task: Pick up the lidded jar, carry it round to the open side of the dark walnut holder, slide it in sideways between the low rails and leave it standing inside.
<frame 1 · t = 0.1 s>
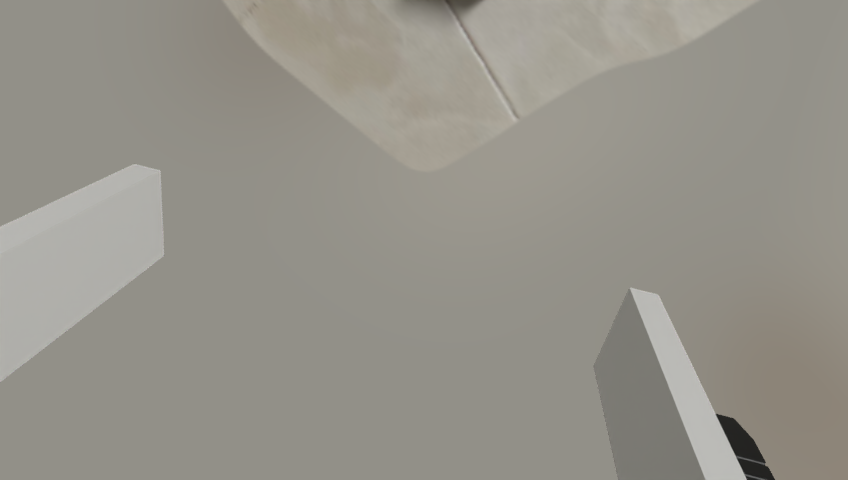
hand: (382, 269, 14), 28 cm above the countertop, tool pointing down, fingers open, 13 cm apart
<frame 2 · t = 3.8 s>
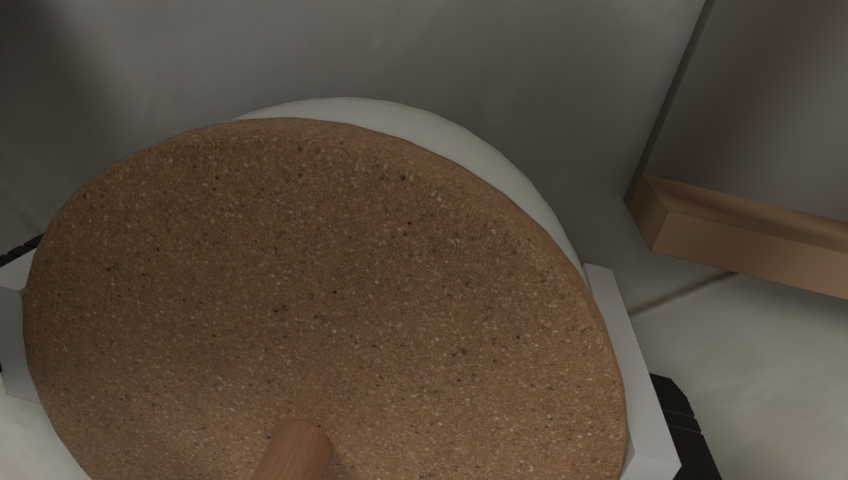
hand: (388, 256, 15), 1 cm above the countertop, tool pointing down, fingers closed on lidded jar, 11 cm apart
lidded jar: (396, 238, 16), on the countertop, touching gripper
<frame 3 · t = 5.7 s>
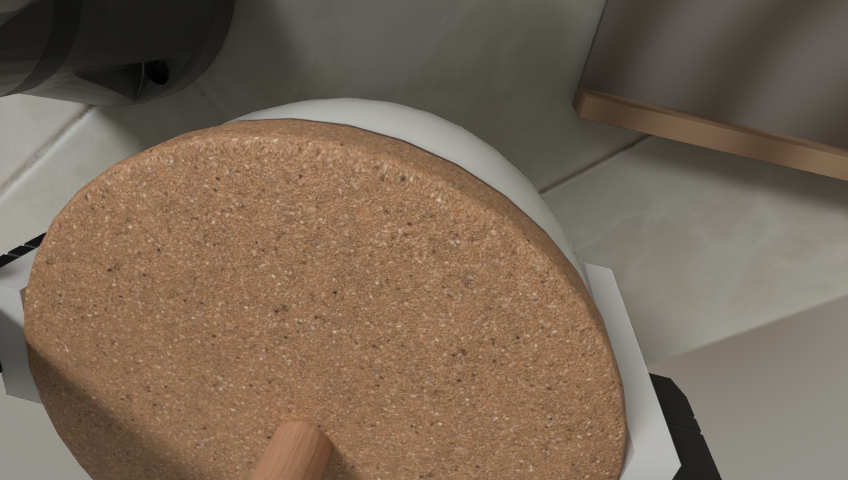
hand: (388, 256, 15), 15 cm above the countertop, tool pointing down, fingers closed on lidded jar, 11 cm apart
lidded jar: (396, 238, 16), point 14 cm above the countertop, touching gripper
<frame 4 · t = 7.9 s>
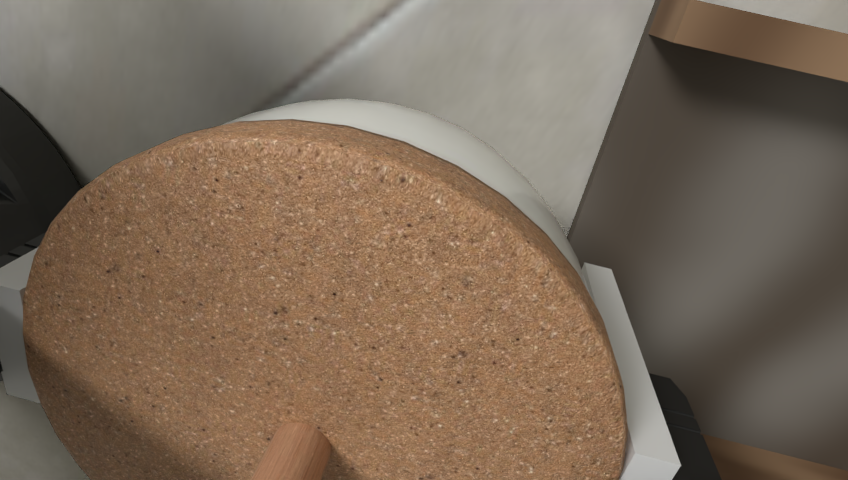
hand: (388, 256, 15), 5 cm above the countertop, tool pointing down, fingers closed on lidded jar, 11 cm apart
holder: (745, 276, 18), on the countertop
lidded jar: (396, 239, 16), point 3 cm above the countertop, touching gripper
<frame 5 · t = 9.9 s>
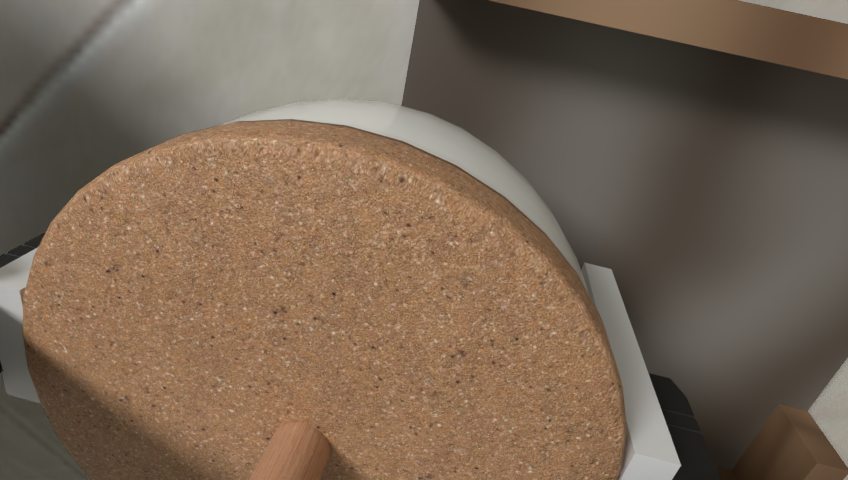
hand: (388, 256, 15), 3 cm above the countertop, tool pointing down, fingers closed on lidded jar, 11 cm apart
holder: (575, 254, 17), on the countertop
lidded jar: (395, 239, 16), point 2 cm above the countertop, touching gripper
when the fingers open (2 cm above the countertop, at t = 11.9 s): lidded jar stays where it is, resting on holder.
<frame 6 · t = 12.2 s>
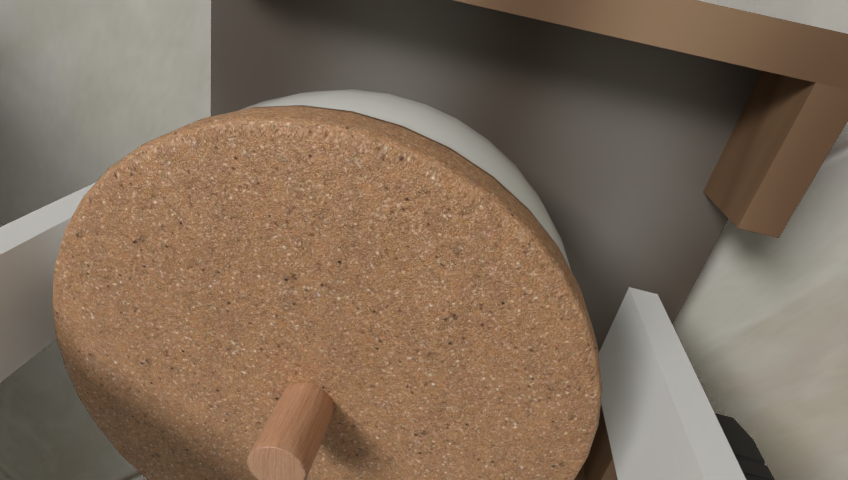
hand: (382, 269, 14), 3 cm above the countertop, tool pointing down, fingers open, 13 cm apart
holder: (404, 221, 17), on the countertop
lidded jar: (394, 226, 17), resting on holder
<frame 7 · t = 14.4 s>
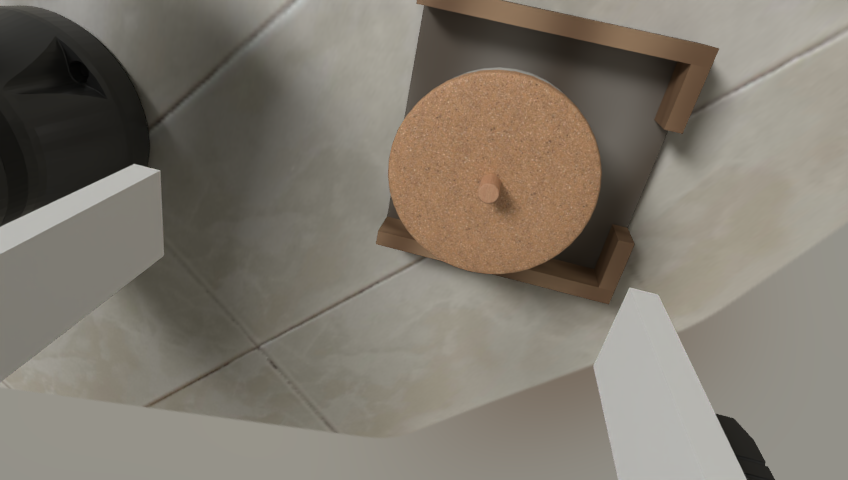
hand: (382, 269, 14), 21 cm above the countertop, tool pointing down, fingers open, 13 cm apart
holder: (502, 141, 33), on the countertop
lidded jar: (498, 142, 33), resting on holder
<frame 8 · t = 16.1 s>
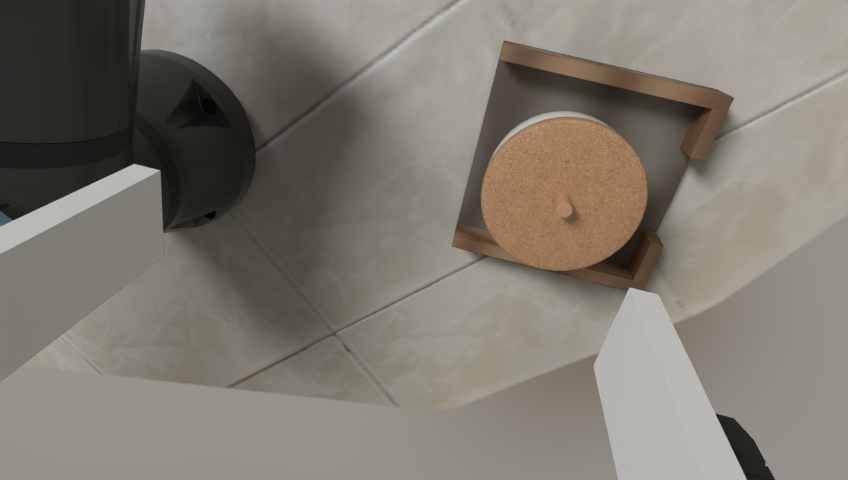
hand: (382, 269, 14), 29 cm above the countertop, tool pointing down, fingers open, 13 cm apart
holder: (556, 162, 41), on the countertop
lidded jar: (553, 164, 41), resting on holder
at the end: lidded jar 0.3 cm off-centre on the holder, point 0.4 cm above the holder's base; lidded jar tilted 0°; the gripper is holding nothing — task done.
